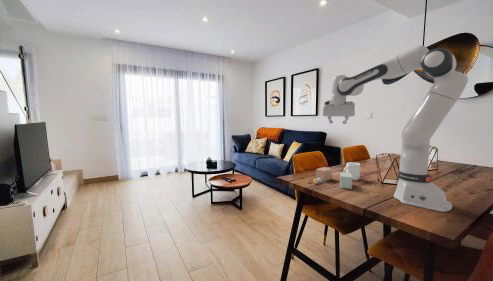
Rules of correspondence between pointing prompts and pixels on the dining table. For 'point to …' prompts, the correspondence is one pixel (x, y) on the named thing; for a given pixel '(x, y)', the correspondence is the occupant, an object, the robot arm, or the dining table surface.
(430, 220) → the dining table surface
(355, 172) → the mug
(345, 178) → the mint green block
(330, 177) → the dusty pink block
